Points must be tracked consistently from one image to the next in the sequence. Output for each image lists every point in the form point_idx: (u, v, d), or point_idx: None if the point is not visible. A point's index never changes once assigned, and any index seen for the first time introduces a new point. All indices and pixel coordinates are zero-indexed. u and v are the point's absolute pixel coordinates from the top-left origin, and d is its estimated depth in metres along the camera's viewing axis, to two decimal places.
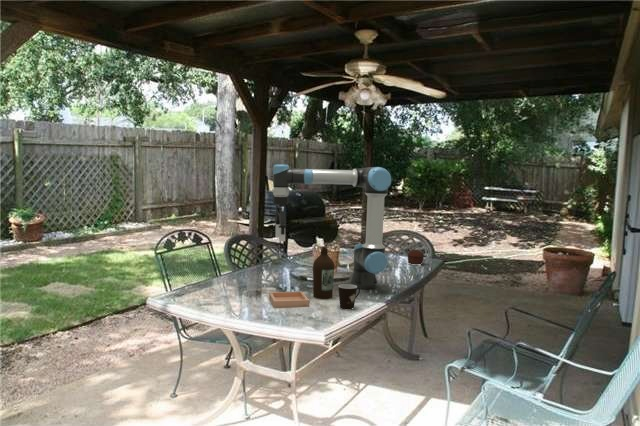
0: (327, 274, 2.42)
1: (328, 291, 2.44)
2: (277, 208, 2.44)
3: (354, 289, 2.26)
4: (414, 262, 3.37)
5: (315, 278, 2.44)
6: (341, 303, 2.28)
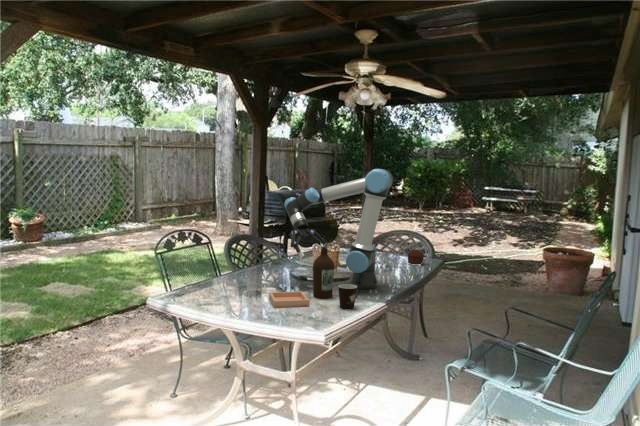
0: (327, 274, 2.42)
1: (328, 291, 2.44)
2: None
3: (354, 289, 2.26)
4: (414, 262, 3.37)
5: (315, 278, 2.44)
6: (341, 303, 2.28)
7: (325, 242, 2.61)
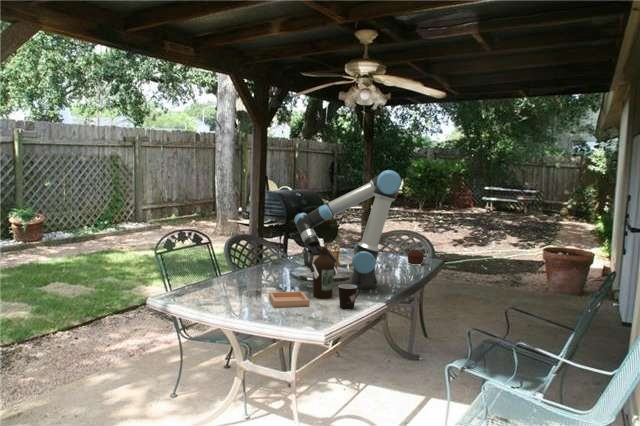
0: (327, 274, 2.42)
1: (328, 291, 2.44)
2: None
3: (354, 289, 2.26)
4: (414, 262, 3.37)
5: None
6: (341, 303, 2.28)
7: (335, 261, 2.52)
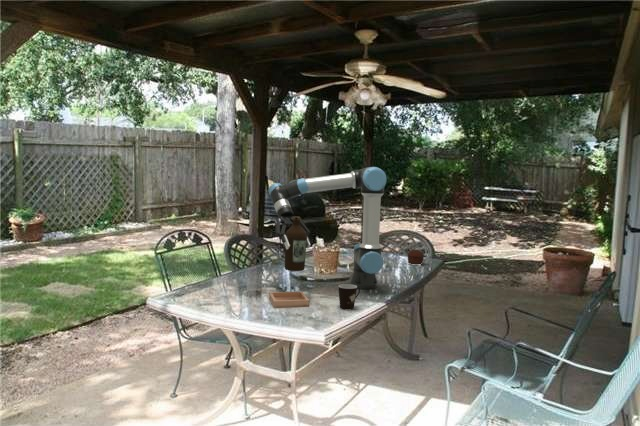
0: (298, 245, 2.32)
1: (299, 263, 2.34)
2: None
3: (354, 289, 2.26)
4: (414, 262, 3.37)
5: None
6: (341, 303, 2.28)
7: (309, 233, 2.42)
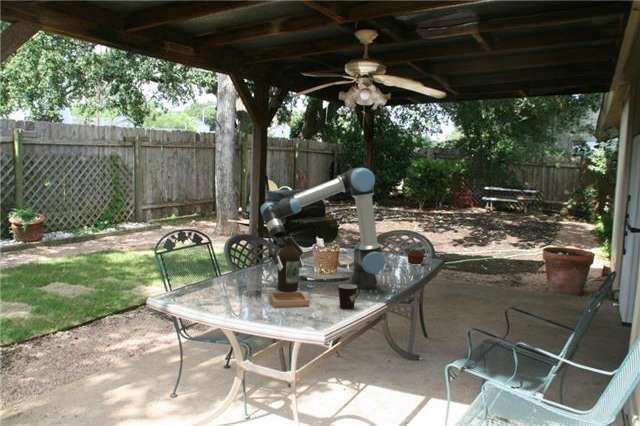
0: (291, 266, 2.29)
1: (293, 284, 2.31)
2: None
3: (354, 289, 2.26)
4: (414, 262, 3.37)
5: None
6: (341, 303, 2.28)
7: (302, 252, 2.40)
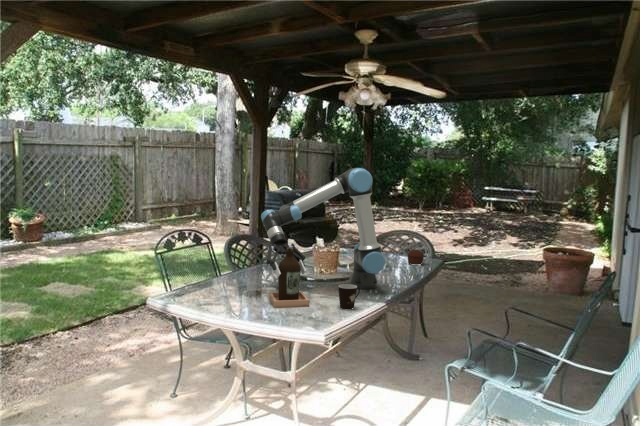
0: (292, 276, 2.30)
1: (293, 295, 2.32)
2: None
3: (354, 289, 2.26)
4: (414, 262, 3.37)
5: (280, 281, 2.32)
6: (341, 303, 2.28)
7: (304, 258, 2.41)
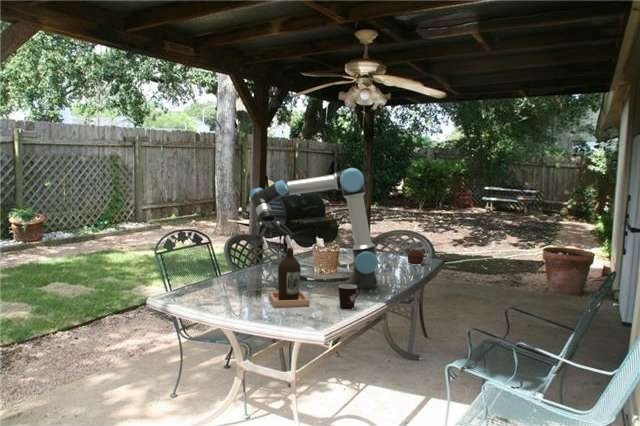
0: (292, 276, 2.30)
1: (293, 295, 2.32)
2: None
3: (354, 289, 2.26)
4: (414, 262, 3.37)
5: (280, 281, 2.32)
6: (341, 303, 2.28)
7: None
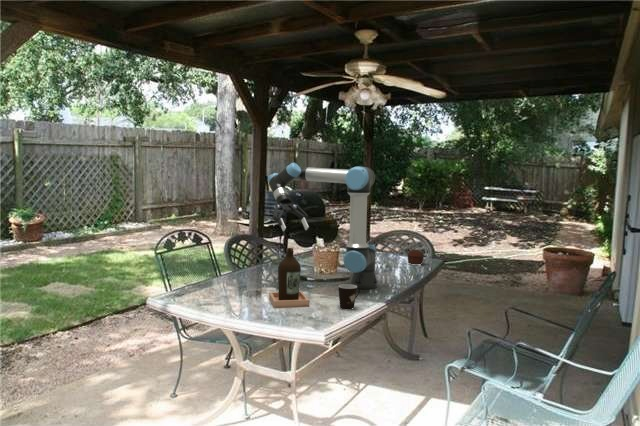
0: (292, 276, 2.30)
1: (293, 295, 2.32)
2: None
3: (354, 289, 2.26)
4: (414, 262, 3.37)
5: (280, 281, 2.32)
6: (341, 303, 2.28)
7: (307, 216, 2.66)
